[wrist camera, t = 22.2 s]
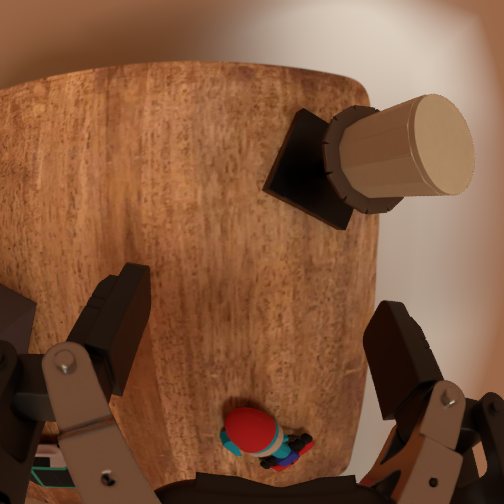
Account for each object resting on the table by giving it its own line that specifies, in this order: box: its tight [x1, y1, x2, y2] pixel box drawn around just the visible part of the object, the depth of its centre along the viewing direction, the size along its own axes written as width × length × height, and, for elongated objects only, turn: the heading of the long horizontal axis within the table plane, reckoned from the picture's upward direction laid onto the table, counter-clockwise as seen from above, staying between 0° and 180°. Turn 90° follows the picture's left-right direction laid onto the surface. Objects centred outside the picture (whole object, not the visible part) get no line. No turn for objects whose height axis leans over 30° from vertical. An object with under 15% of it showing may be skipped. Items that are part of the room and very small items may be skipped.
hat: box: [322, 94, 475, 214], centre depth 18 cm, size 8×8×8 cm
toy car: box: [29, 443, 76, 488], centre depth 23 cm, size 6×12×5 cm, turn 99°
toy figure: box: [219, 407, 314, 471], centre depth 30 cm, size 8×5×15 cm
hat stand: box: [262, 108, 354, 230], centre depth 22 cm, size 9×9×16 cm
